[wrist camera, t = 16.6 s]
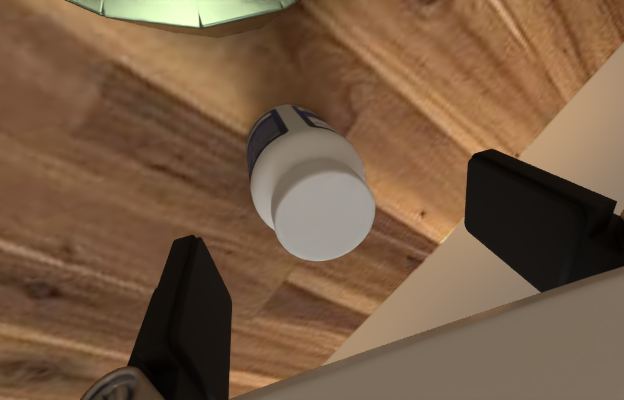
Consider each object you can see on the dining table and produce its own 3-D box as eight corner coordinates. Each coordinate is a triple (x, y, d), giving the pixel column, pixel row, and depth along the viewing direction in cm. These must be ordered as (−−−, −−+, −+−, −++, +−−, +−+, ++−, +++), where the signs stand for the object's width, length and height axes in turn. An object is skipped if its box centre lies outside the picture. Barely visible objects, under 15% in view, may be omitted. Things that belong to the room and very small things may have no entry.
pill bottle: (257, 191, 21) (272, 291, 12) (235, 113, 18) (234, 171, 10) (332, 172, 21) (395, 256, 13) (321, 94, 19) (390, 135, 10)
